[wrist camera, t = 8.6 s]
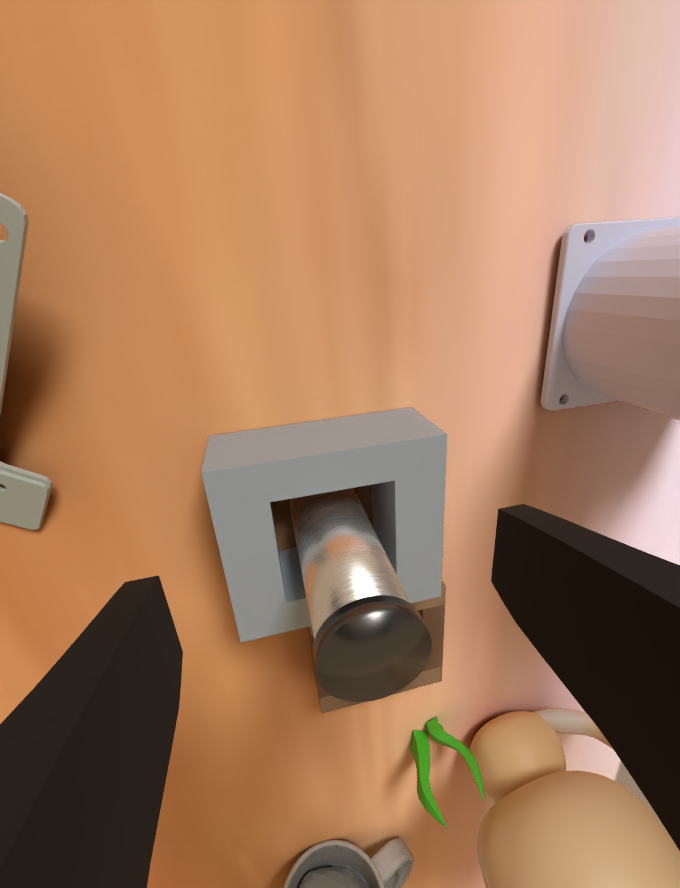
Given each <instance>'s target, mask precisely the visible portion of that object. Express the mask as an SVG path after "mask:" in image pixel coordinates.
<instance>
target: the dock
mask: <svg viewBox="0 0 680 888" xmlns="http://www.w3.org/2000/svg"><path fill="white" fill-rule="evenodd" d="M446 449H447V434H446V433H445V432H444V431H442V430H441V429H440V428H438V427H437V426H436V425H435V424H433V423H432V422H431V421H429V420H428V419H427V418H425V417H424V416H423V415H422V414H420V413H419V412H418V411H416V410H415V409H414V408H412V407H410V408H403V409H396V410H389V411H381V412H374V413H367V414H360V415H353V416H346V417H339V418H332V419H325V420H318V421H311V422H304V423H297V424H290V425H283V426H276V427H269V428H262V429H255V430H248V431H241V432H233V433H226V434H219V435H212V436H209V438H208V442H207V447H206V452H205V457H204V461H203V466H202V471H201V474H202V478H203V483H204V487H205V491H206V496H207V500H208V504H209V509H210V513H211V517H212V522H213V526H214V530H215V534H216V539H217V543H218V547H219V552H220V556H221V560H222V565H223V569H224V573H225V578H226V582H227V586H228V590H229V595H230V599H231V603H232V608H233V612H234V616H235V621H236V625H237V629H238V634H239V638H240V642H245V641H250V640H254V639H258V638H263V637H267V636H271V635H276V634H280V633H284V632H289V631H293V630H297V629H302V628H306V627H310V626H312V625H311V619H310V614H309V609H308V603H307V598H306V593H305V587H304V582H303V576H302V571H301V566H300V560H299V555H298V550H297V547H295V548H290V549H284V550H279V547H278V541H277V535H276V529H275V522H274V516H273V510H272V504H271V502H274V501H280V500H286V499H292V498H297V497H303V496H309V495H315V494H320V493H326V492H332V491H338V490H343V489H349V488H355V487H361V486H366V485H371V496H372V518H373V529H374V531H375V533H376V535H377V537H378V539H379V541H380V543H381V545H382V547H383V549H384V551H385V553H386V555H387V557H388V559H389V561H390V563H391V565H392V567H393V569H394V571H395V573H396V575H397V577H398V579H399V581H400V583H401V585H402V587H403V589H404V591H405V593H406V595H407V597H408V599H409V601H410V603H414V602H419V601H423V600H427V599H432V598H436V597H440V596H441V582H442V556H443V529H444V502H445V475H446Z"/></svg>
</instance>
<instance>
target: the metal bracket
mask: <svg viewBox="0 0 680 888" xmlns="http://www.w3.org/2000/svg"><path fill="white" fill-rule="evenodd" d="M0 223H1V224H2V225H4V227H5V228H6V230H7V231H8V239H7V241H2V240H0V415H1V409H2V402H3V395H4V388H5V381H6V374H7V367H8V360H9V353H10V346H11V339H12V332H13V325H14V318H15V311H16V305H17V298H18V291H19V284H20V277H21V270H22V263H23V256H24V249H25V242H26V235H27V228H28V216H27V213H26V212H25V210H24V208H23V207H22V206H21V205H20V204H19V203H17V202H16V201H15V200H13V199H11V198H9V197H7V196H5V195H3V194H1V193H0ZM0 484H2V485H4V486H2V485H0V522H2V523H6V524H10V525H13V526H17V527H21V528H25V529H29V530H37V529H39V528H40V527H41V525H42V523H43V520H44V516H45V512H46V508H47V505H48V501H49V497H50V493H51V489H52V481H51V480H50V479H49V478H47V477H45V476H43V475H40V474H37V473H34V472H30V471H27V470H24V469H21V468H17V467H14V466H11V465H8V464H5V463H3V462H1V461H0Z"/></svg>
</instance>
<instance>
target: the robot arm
mask: <svg viewBox="0 0 680 888" xmlns="http://www.w3.org/2000/svg"><path fill="white" fill-rule="evenodd" d="M586 232H587V234H588V237H587V240H586V242H585V241H584V235H585V233H586ZM562 395H563V398H562V400H561V401H560V402H559V400H560V397H561V396H562ZM613 401H623V402H626V403H629V404H632V405H635V406H638V407H641V408H644V409H647V410H650V411H654V412H657V413H660V414H663V415H666V416H669V417H672V418H675V419H678V420H680V217H677V218H662V219H646V220H630V221H614V222H598V223H583V224H575V225H571V226H569V227H568V228H567V229H566V230H565V232H564V234H563V237H562V243H561V250H560V258H559V266H558V273H557V281H556V288H555V296H554V304H553V311H552V319H551V326H550V334H549V341H548V349H547V357H546V364H545V372H544V379H543V387H542V395H541V405H542V407H543V408H545V409H547V410H549V411H555V410H561V409H568V408H574V407H581V406H587V405H594V404H600V403H607V402H613ZM491 582H492V583H493V585H494V587H495V589H496V590H497V592H498V594H499V596H500V597H501V599H502V601H503V602H504V604H505V606H506V607H507V609H508V611H509V612H510V614H511V615H512V617H513V619H514V620H515V622H516V623H517V625H518V626H519V627H520V628H521V630H522V631H523V632H524V634H525V635H526V636H527V638H528V639H529V640H530V642H531V643H532V644H533V645H534V647H535V648H536V649H537V651H538V652H539V653H540V654H541V656H542V657H543V658H544V660H545V661H546V662H547V663H548V665H549V666H550V667H551V668H552V670H553V671H554V672H555V674H556V675H557V676H558V677H559V679H560V680H561V681H562V682H563V684H564V685H565V686H566V688H567V689H568V690H569V691H570V693H571V694H572V695H573V696H574V698H575V699H576V700H577V701H578V703H579V704H580V705H581V707H582V708H583V709H584V710H585V712H586V713H587V714H588V715H589V717H590V718H591V719H592V721H593V722H594V723H595V724H596V726H597V727H598V729H599V730H600V731H601V733H602V734H603V735H604V737H605V738H606V739H607V741H608V742H609V744H610V745H611V746H612V748H613V749H614V751H615V752H616V754H617V755H618V757H619V758H620V760H621V761H622V763H623V764H624V766H625V767H626V769H627V770H628V771H629V773H630V774H631V776H632V777H633V779H634V780H635V782H636V784H637V785H638V787H639V788H640V790H641V791H642V793H643V794H644V796H645V797H646V799H647V800H648V802H649V803H650V805H651V806H652V808H653V809H654V811H655V812H656V814H657V816H658V817H659V819H660V820H661V822H662V824H663V825H664V827H665V828H666V830H667V831H668V833H669V835H670V836H671V838H672V839H673V841H674V843H675V844H676V846H677V847H678V849H679V850H680V565H677V564H675V563H672V562H669V561H667V560H664V559H661V558H659V557H656V556H654V555H651V554H648V553H646V552H643V551H641V550H638V549H636V548H633V547H631V546H628V545H626V544H623V543H621V542H618V541H616V540H613V539H611V538H608V537H606V536H604V535H601V534H599V533H596V532H594V531H591V530H589V529H587V528H584V527H582V526H579V525H577V524H574V523H572V522H569V521H567V520H565V519H562V518H560V517H557V516H554V515H552V514H549V513H547V512H544V511H542V510H539V509H536V508H533V507H530V506H527V505H524V504H522V505H516V506H511V507H506V508H501V509H498V518H497V528H496V538H495V548H494V558H493V568H492V578H491ZM182 656H183V651H182V648H181V645H180V642H179V638H178V635H177V632H176V629H175V626H174V622H173V619H172V616H171V613H170V610H169V607H168V603H167V600H166V597H165V594H164V591H163V587H162V584H161V581H160V578H159V576H154V577H149V578H144V579H139V580H134V581H129V582H125V583H124V584H123V585H122V586H121V587H120V589H119V590H118V591H117V592H116V593H115V594H114V595H113V597H112V598H111V599H110V600H109V601H108V603H107V604H106V605H105V606H104V607H103V608H102V610H101V611H100V612H99V613H98V614H97V616H96V617H95V618H94V619H93V620H92V622H91V623H90V624H89V625H88V626H87V627H86V629H85V630H84V631H83V632H82V633H81V635H80V636H79V637H78V638H77V639H76V640H75V642H74V643H73V644H72V645H71V646H70V647H69V649H68V650H67V651H66V652H65V653H64V654H63V655H62V657H61V658H60V659H59V660H58V661H57V662H56V664H55V665H54V666H53V667H52V668H51V669H50V671H49V672H48V673H47V674H46V675H45V676H44V677H43V679H42V680H41V681H40V682H39V683H38V684H37V685H36V687H35V688H34V689H33V690H32V691H31V692H30V693H29V694H28V695H27V696H26V697H25V698H24V699H23V701H22V702H21V703H20V704H19V705H18V706H17V707H16V708H15V709H14V710H13V711H12V712H11V713H10V715H9V716H8V717H7V718H6V719H5V720H4V721H3V722H2V723H1V724H0V888H147V882H148V876H149V869H150V862H151V857H152V851H153V846H154V841H155V835H156V830H157V824H158V819H159V814H160V808H161V803H162V798H163V792H164V787H165V781H166V776H167V771H168V765H169V760H170V755H171V749H172V743H173V738H174V732H175V727H176V721H177V715H178V710H179V700H180V687H181V673H182Z"/></svg>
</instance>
